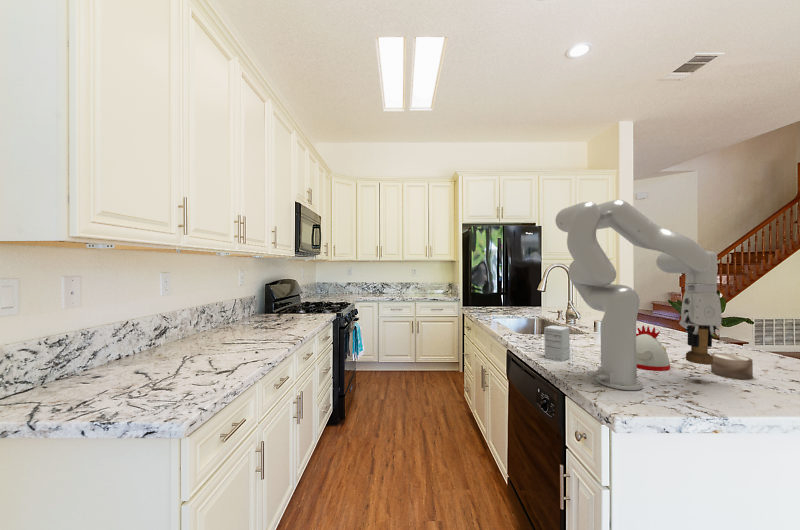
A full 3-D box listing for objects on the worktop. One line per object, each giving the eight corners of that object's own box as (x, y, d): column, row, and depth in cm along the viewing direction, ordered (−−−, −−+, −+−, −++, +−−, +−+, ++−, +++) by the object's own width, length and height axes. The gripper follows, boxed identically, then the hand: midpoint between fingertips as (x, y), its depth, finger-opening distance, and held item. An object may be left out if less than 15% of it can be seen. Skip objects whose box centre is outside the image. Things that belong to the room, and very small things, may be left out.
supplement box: (552, 354, 139) (551, 324, 140) (570, 358, 134) (570, 327, 134) (544, 357, 135) (543, 327, 135) (562, 361, 129) (562, 329, 129)
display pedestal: (735, 380, 106) (734, 361, 106) (703, 370, 116) (703, 353, 116) (761, 378, 108) (761, 360, 108) (727, 369, 118) (727, 352, 118)
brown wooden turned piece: (714, 366, 101) (715, 308, 101) (686, 362, 105) (687, 306, 105) (711, 361, 107) (712, 306, 107) (685, 357, 111) (685, 304, 111)
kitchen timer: (666, 373, 114) (665, 330, 114) (619, 365, 124) (619, 325, 124) (673, 365, 123) (672, 325, 123) (629, 358, 133) (628, 321, 133)
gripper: (689, 289, 101) (687, 349, 101) (736, 290, 103) (735, 348, 103) (666, 288, 109) (665, 343, 109) (711, 289, 111) (710, 343, 111)
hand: (699, 345), depth 106 cm, fingers closed on brown wooden turned piece, 3 cm apart
